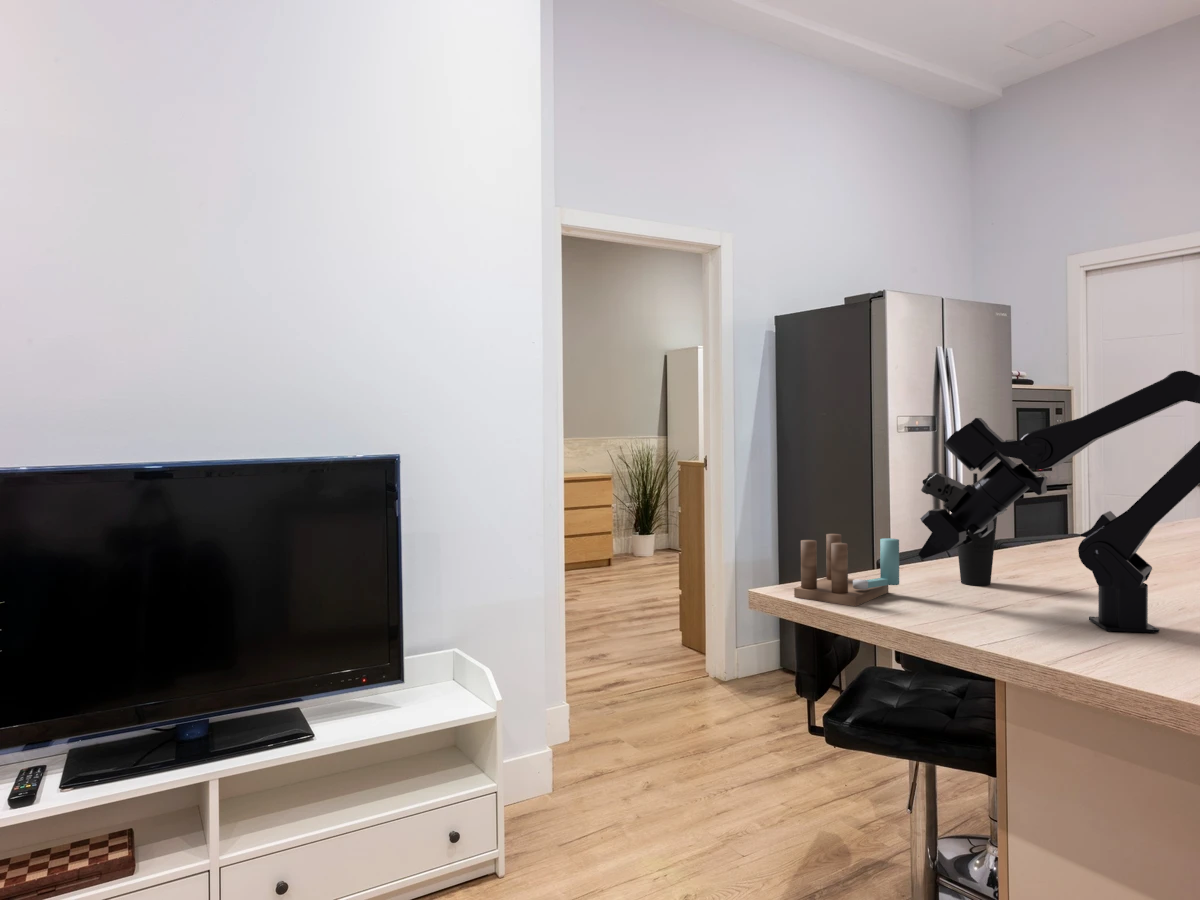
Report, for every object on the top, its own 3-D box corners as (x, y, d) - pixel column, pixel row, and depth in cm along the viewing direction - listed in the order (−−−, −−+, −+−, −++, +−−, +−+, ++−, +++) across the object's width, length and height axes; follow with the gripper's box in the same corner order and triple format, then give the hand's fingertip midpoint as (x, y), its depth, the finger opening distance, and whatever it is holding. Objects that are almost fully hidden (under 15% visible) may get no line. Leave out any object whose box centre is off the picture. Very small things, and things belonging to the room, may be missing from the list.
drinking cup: (988, 579, 141) (988, 472, 140) (1006, 587, 133) (1006, 474, 133) (946, 579, 142) (945, 472, 141) (961, 587, 134) (961, 474, 133)
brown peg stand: (888, 592, 131) (888, 537, 131) (855, 606, 121) (855, 547, 121) (829, 584, 138) (829, 532, 138) (794, 597, 129) (793, 541, 128)
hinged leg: (862, 590, 124) (862, 544, 123) (848, 587, 126) (848, 542, 126) (903, 583, 128) (903, 539, 128) (888, 581, 131) (888, 537, 131)
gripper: (973, 453, 128) (907, 514, 136) (934, 458, 114) (863, 525, 122) (1025, 503, 123) (953, 563, 131) (991, 513, 109) (913, 580, 117)
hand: (921, 556), depth 125 cm, fingers closed
